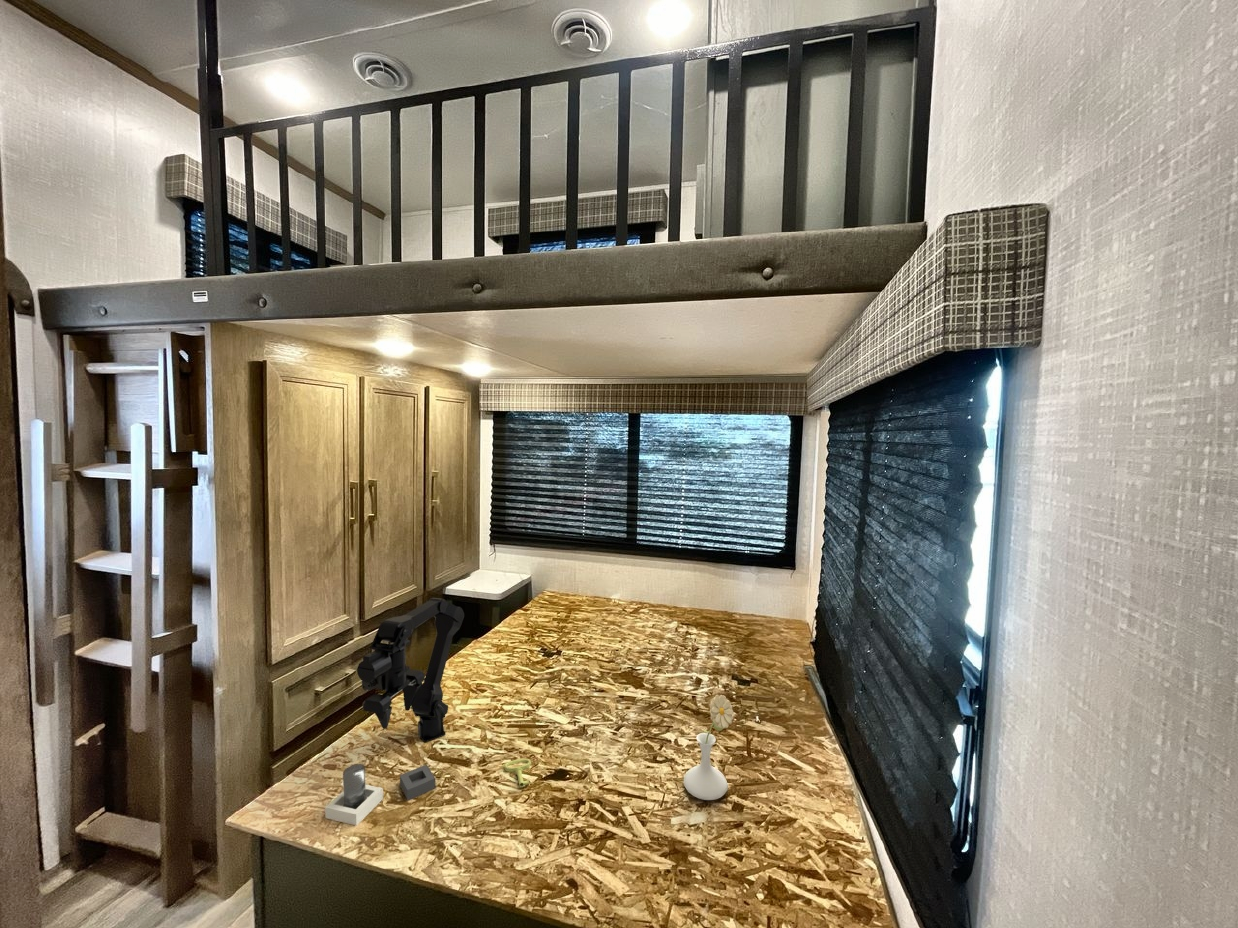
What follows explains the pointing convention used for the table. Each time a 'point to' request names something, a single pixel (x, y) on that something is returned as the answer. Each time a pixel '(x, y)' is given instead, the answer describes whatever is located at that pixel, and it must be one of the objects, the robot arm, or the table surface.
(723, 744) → the table surface
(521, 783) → the key
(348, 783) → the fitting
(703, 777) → the flower in vase
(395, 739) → the table surface
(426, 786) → the block
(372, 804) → the tray
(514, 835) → the table surface
